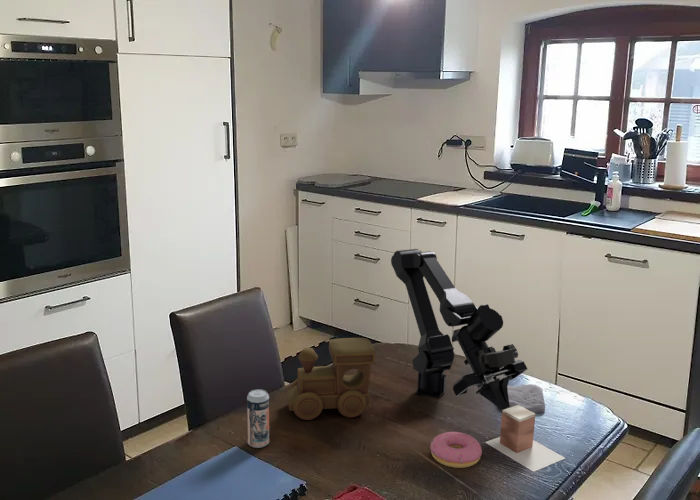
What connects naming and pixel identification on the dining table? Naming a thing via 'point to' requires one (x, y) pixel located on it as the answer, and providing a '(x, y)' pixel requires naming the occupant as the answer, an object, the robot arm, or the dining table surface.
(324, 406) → the wooden toy train
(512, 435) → the brick block
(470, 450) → the doughnut
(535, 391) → the stone block
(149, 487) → the dining table surface
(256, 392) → the beer can
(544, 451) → the white paper sheet
